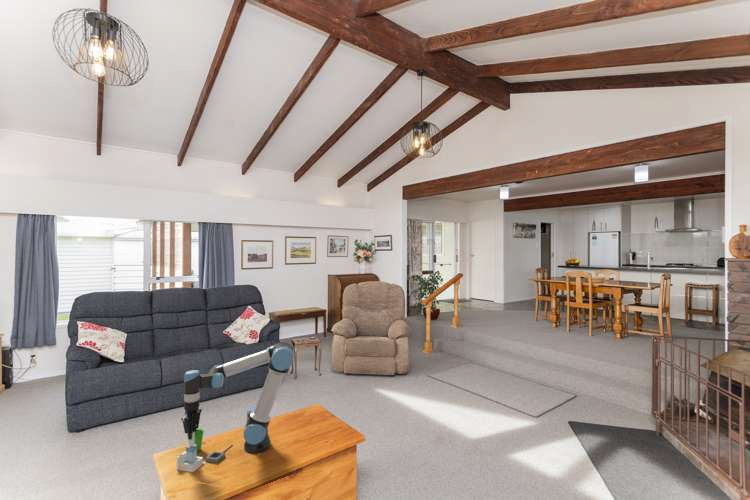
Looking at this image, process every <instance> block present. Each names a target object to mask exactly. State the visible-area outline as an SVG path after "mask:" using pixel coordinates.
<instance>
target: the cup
mask: <svg viewBox="0 0 750 500" xmlns="http://www.w3.org/2000/svg"><path fill="white" fill-rule="evenodd" d="M196 430H197V431H195V444H197V453H199V452H200V451H201V449H202V442H203V436H204V433H205V431H204V429H202V428H198V429H196ZM186 436H187V437H188V434H187V433H186ZM187 440H188V442H189V439H188V438H187Z"/></svg>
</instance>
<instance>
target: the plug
mask: <svg viewBox="0 0 750 500" xmlns="http://www.w3.org/2000/svg"><path fill="white" fill-rule="evenodd" d="M185 451H186V452H187V463H190V464H193V463H194V462H196V461H197V456H198V455H197V454H198V452H197V444H194V445H189V444H188V445H187V446H186V447H185Z"/></svg>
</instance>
